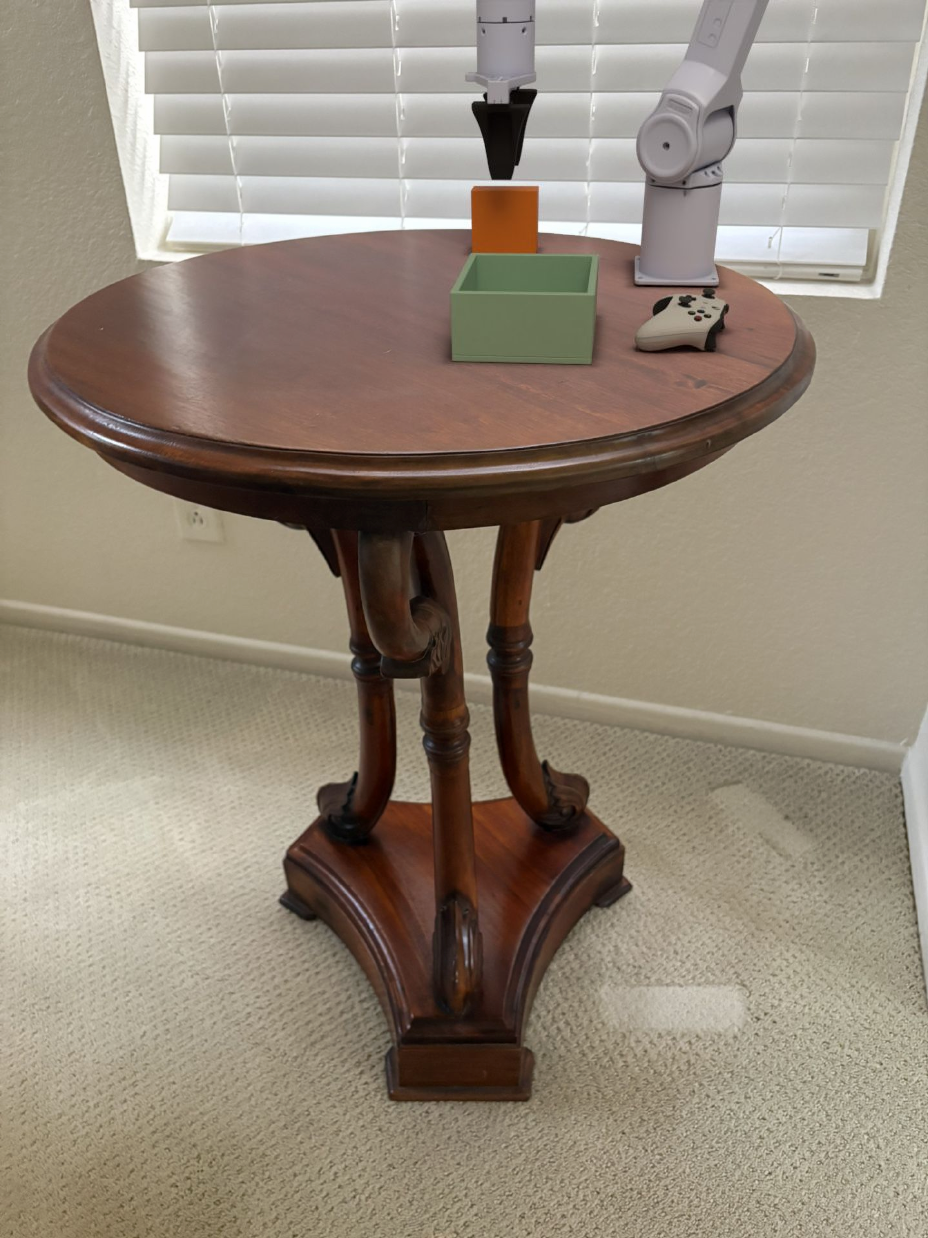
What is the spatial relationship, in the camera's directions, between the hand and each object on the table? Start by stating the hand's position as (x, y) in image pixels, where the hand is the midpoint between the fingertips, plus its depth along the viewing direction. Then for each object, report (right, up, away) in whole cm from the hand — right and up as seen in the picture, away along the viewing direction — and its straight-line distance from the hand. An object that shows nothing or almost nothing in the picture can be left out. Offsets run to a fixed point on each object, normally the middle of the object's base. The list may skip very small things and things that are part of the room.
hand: (505, 172), depth 105 cm
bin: (+1, -23, -20) cm, 30 cm away
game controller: (+14, -23, -20) cm, 34 cm away
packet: (0, -7, +5) cm, 8 cm away
